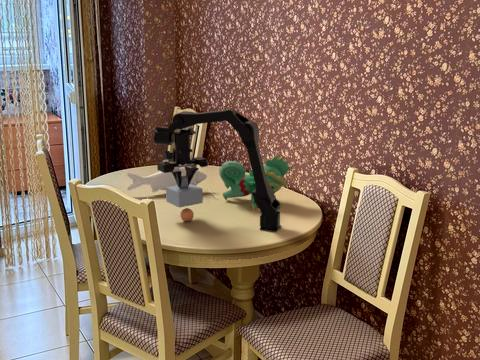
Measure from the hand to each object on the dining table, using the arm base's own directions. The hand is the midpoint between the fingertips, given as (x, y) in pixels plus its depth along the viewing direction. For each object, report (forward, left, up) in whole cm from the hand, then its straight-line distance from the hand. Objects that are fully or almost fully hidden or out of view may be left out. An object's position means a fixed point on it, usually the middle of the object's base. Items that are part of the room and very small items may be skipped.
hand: (183, 186), depth 223 cm
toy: (-19, -29, -13) cm, 37 cm away
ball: (-2, +1, -10) cm, 11 cm away
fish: (+21, -29, -13) cm, 38 cm away
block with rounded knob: (0, 0, -6) cm, 6 cm away
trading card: (+6, -32, -14) cm, 35 cm away
